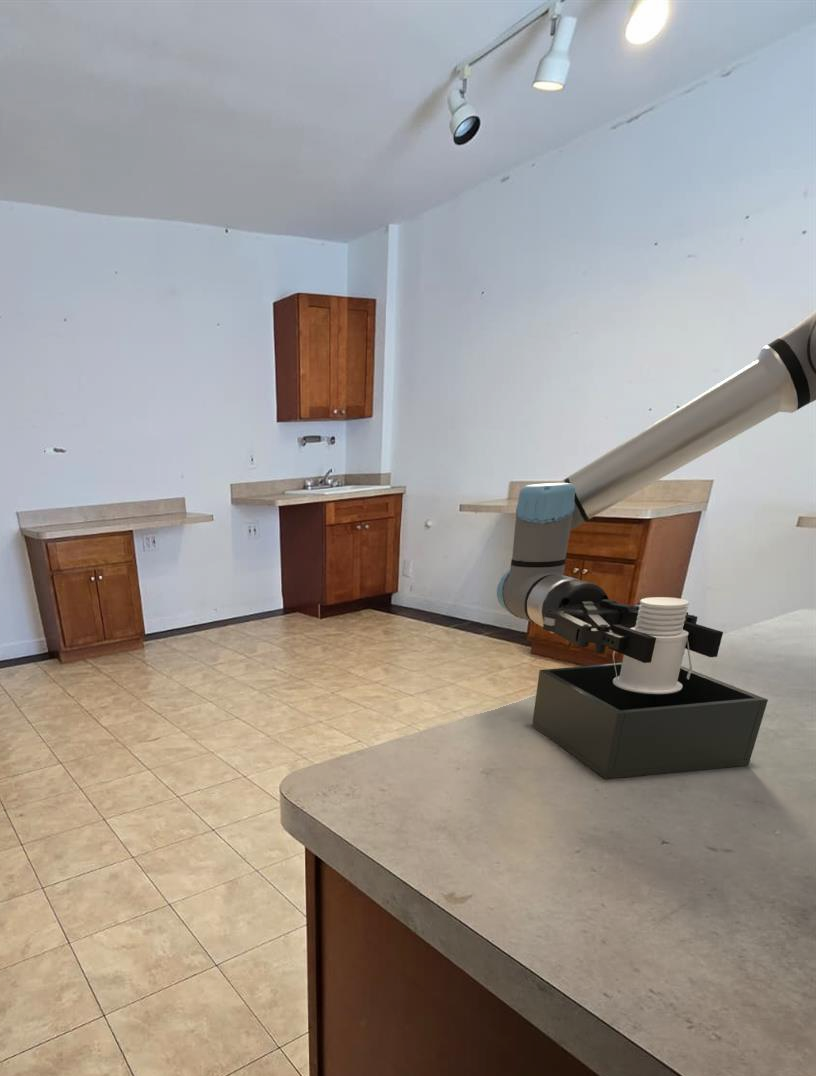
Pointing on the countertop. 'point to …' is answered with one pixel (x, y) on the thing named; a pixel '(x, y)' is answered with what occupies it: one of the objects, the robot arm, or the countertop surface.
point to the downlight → (658, 648)
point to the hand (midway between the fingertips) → (683, 647)
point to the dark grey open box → (646, 722)
